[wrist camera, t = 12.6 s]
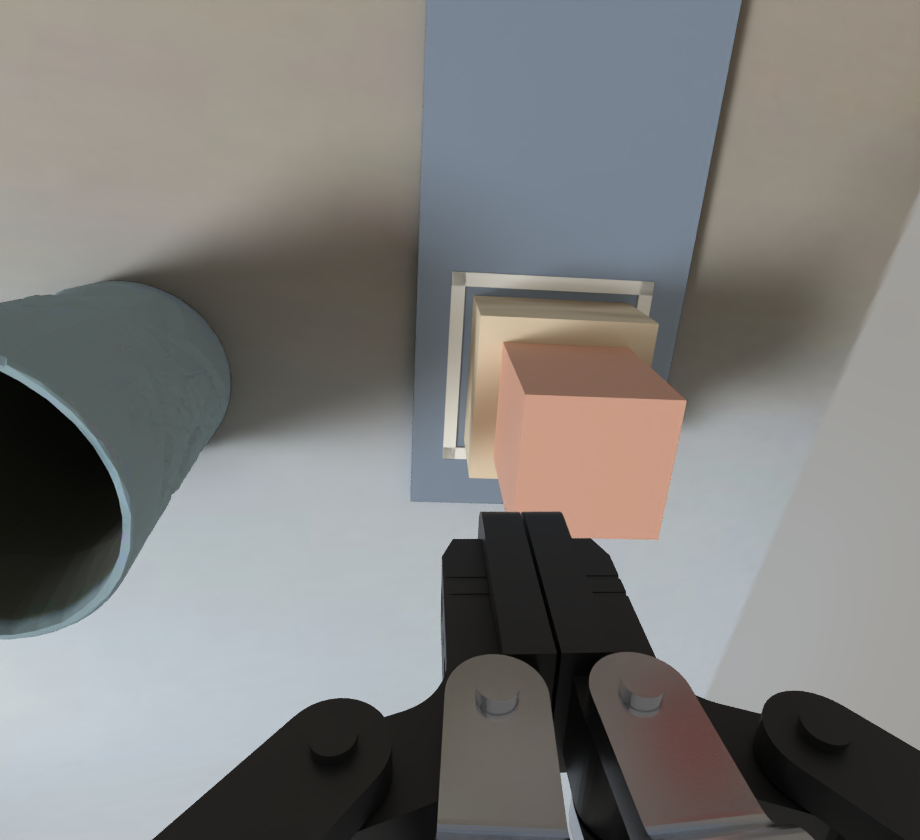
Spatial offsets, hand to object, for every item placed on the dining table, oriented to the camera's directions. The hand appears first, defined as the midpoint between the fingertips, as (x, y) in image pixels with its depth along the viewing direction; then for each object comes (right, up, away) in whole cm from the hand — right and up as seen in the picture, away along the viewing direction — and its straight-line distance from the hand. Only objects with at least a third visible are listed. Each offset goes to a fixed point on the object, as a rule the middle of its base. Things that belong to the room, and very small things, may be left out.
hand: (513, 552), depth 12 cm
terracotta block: (+3, +3, +14) cm, 14 cm away
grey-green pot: (-16, +5, +17) cm, 24 cm away
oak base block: (+3, +5, +17) cm, 18 cm away
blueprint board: (+3, +10, +16) cm, 19 cm away
